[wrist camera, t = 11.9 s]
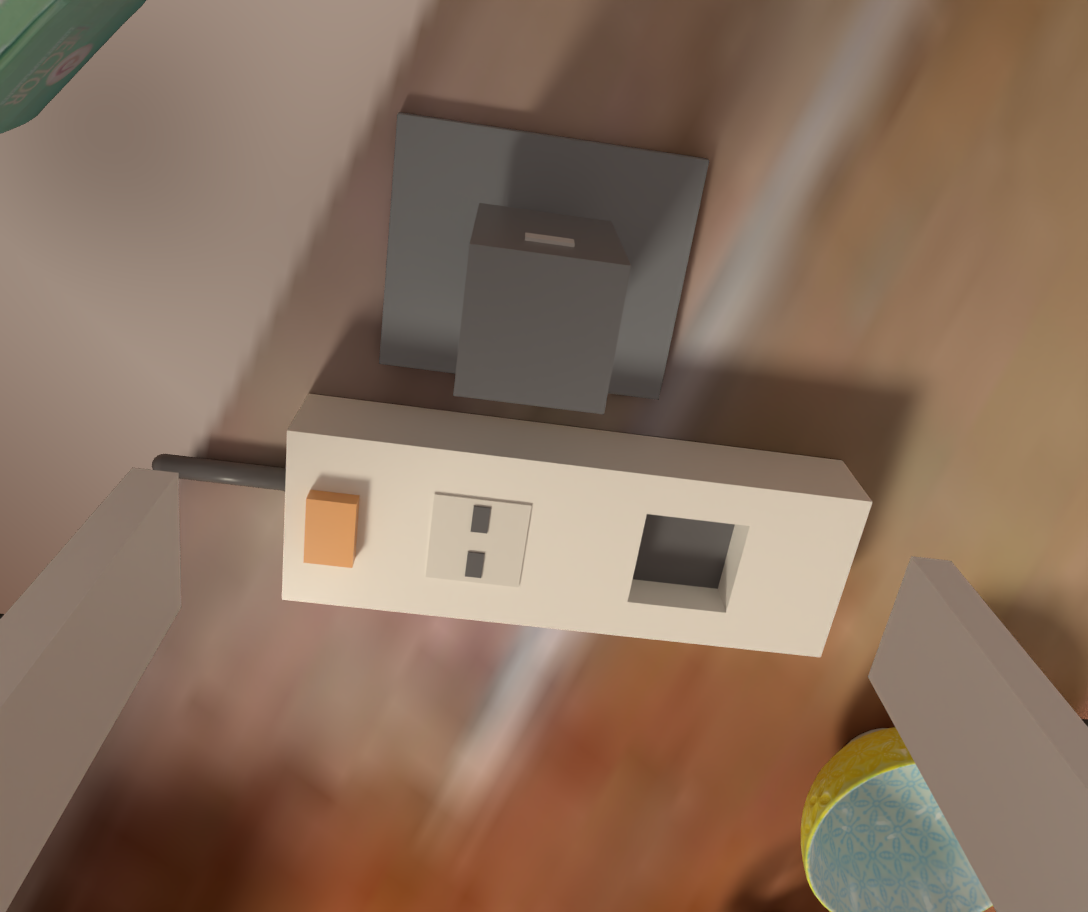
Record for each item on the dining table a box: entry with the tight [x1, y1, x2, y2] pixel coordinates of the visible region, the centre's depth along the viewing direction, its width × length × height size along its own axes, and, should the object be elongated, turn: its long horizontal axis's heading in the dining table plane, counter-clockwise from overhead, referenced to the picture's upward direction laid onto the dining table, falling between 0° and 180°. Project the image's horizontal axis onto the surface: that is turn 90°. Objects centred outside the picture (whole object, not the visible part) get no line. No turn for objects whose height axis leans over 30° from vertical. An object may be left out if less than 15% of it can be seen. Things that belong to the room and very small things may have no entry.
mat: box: [379, 112, 709, 400], centre depth 37 cm, size 12×10×1 cm
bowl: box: [801, 727, 993, 912], centre depth 47 cm, size 11×12×6 cm
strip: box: [152, 394, 872, 657], centre depth 40 cm, size 30×8×5 cm, turn 82°
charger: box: [453, 203, 631, 414], centre depth 33 cm, size 5×5×9 cm
